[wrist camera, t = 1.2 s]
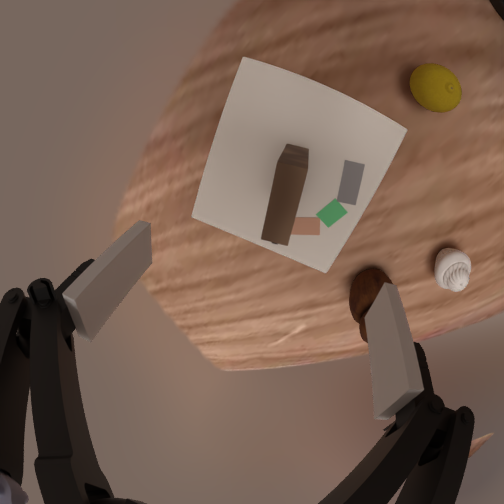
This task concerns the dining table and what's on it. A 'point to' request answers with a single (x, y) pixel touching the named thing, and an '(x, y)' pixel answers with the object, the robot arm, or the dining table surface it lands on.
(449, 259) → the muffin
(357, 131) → the dial board
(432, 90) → the lemon
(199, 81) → the dining table surface
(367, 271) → the wooden figurine
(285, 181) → the dark wooden block
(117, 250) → the robot arm
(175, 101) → the dining table surface
